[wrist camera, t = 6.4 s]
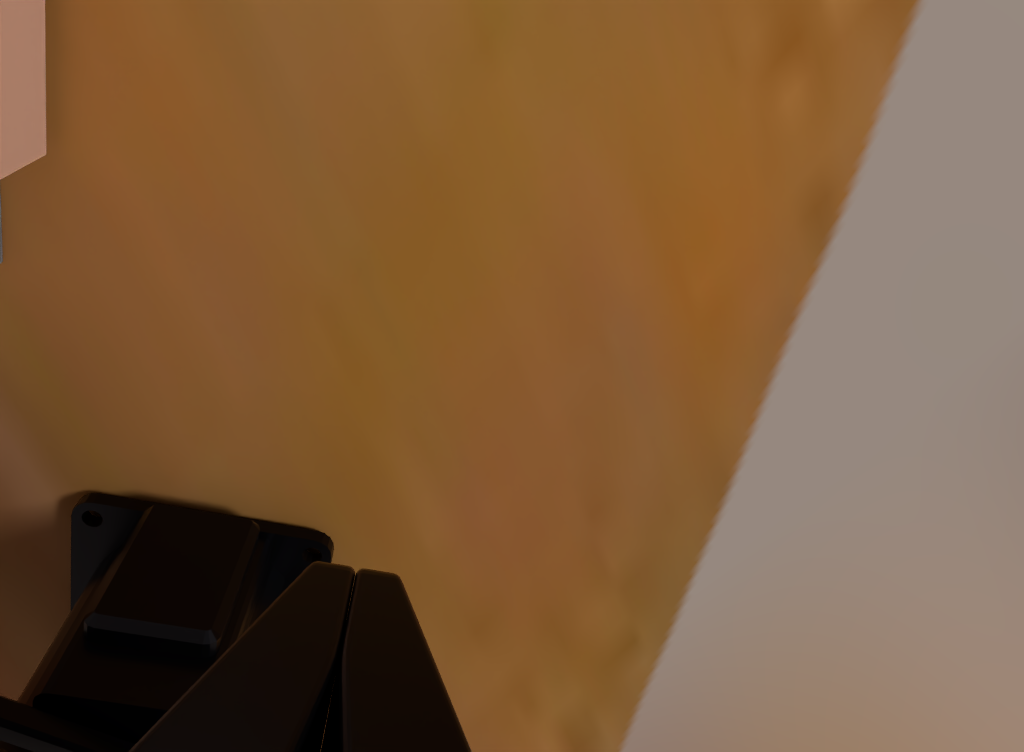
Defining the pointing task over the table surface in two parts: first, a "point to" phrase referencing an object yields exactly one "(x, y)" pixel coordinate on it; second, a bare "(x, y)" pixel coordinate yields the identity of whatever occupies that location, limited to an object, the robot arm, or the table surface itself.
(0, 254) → the mat
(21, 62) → the block
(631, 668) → the table surface
